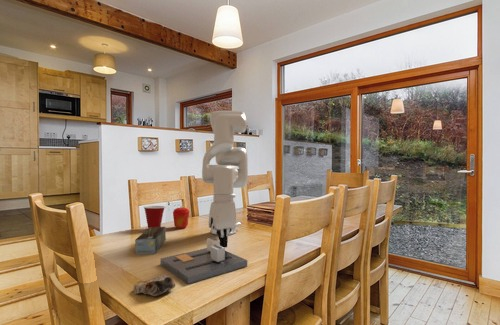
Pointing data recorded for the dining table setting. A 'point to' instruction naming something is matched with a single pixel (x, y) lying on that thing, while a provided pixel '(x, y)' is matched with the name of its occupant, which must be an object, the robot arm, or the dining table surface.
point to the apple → (180, 217)
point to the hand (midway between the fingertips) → (223, 246)
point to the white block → (217, 253)
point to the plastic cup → (154, 215)
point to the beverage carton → (150, 240)
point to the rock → (155, 286)
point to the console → (201, 265)
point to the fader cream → (212, 242)
